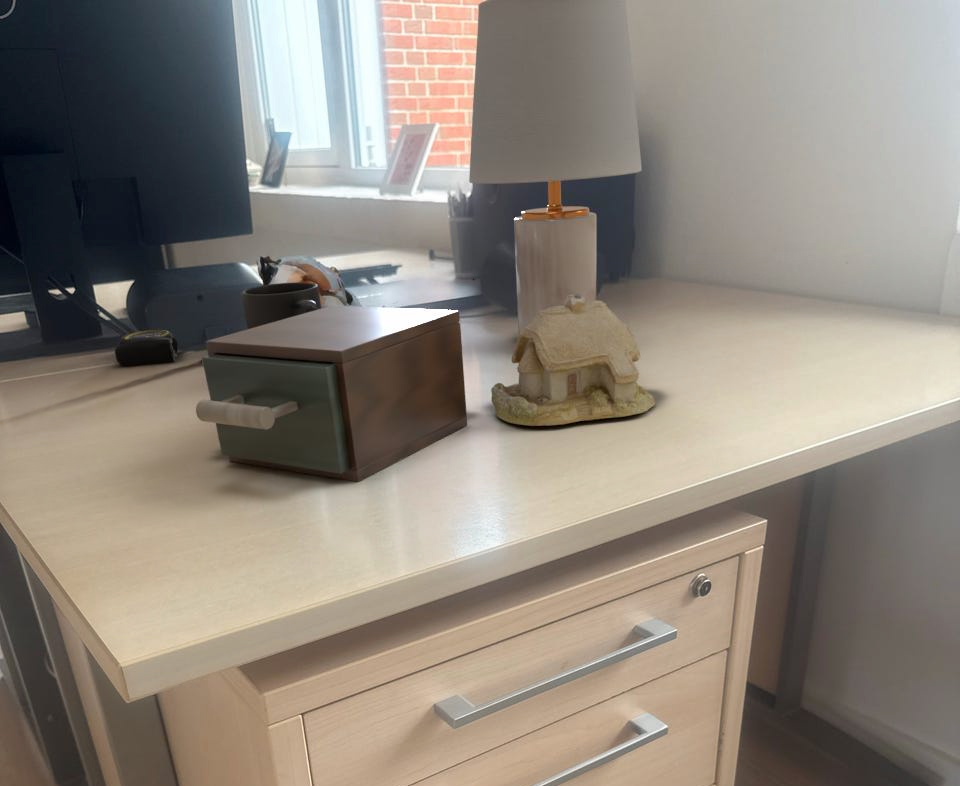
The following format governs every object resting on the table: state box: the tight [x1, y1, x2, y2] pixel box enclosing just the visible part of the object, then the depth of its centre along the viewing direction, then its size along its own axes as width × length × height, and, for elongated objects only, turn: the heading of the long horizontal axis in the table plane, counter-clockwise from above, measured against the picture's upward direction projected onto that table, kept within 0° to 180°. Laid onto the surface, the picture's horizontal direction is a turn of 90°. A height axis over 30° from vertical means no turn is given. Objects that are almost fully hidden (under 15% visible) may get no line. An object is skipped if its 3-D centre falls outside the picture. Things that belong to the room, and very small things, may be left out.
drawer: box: [195, 354, 350, 474], centre depth 73 cm, size 19×13×8 cm, turn 149°
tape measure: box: [114, 329, 179, 367], centre depth 111 cm, size 7×7×4 cm
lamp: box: [468, 0, 643, 335], centre depth 101 cm, size 19×19×34 cm
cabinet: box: [205, 305, 468, 482], centre depth 76 cm, size 16×14×10 cm
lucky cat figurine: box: [256, 254, 364, 309], centre depth 111 cm, size 15×12×14 cm
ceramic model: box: [490, 294, 656, 427], centre depth 80 cm, size 14×11×10 cm
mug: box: [240, 282, 321, 329], centre depth 98 cm, size 8×12×10 cm
